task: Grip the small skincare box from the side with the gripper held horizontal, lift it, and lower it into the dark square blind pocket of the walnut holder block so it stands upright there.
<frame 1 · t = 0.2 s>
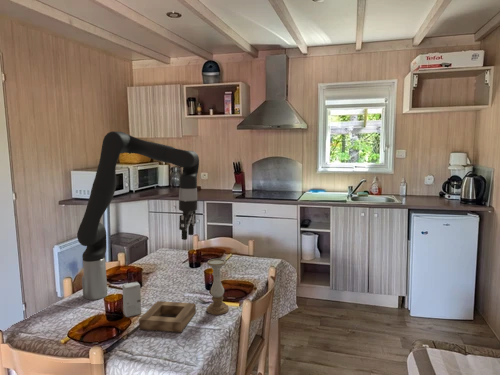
hand: (187, 237, 155), 28 cm above the table, tool pointing down, fingers open, 8 cm apart
walnut holder: (168, 321, 141), on the table
skincare box: (132, 314, 148), on the table
candle holder: (217, 310, 150), on the table
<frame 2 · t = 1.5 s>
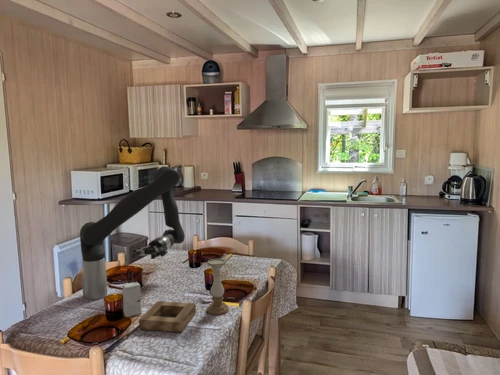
hand: (142, 256, 156), 20 cm above the table, tool horizontal, fingers open, 8 cm apart
nothing on the table moved.
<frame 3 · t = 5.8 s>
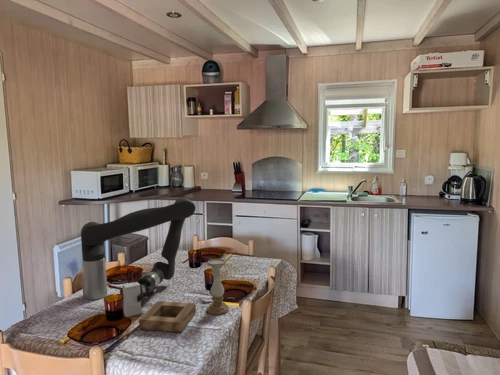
hand: (129, 298, 145), 7 cm above the table, tool horizontal, fingers closed on skincare box, 7 cm apart
skincare box: (132, 314, 148), on the table, touching gripper
everything else where it was.
when the fingers open (9 cm above the table, at t = 12.1 s): skincare box drops 1 cm, resting on walnut holder.
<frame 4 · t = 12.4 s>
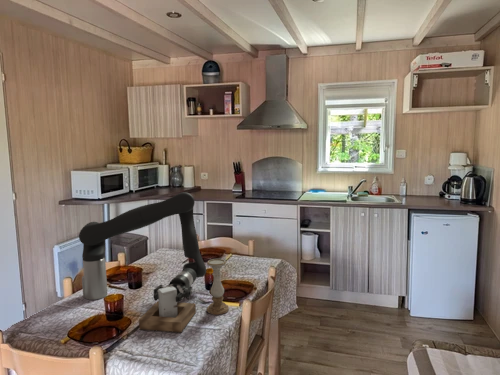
hand: (165, 299, 138), 10 cm above the table, tool horizontal, fingers open, 8 cm apart
skincare box: (168, 320, 141), resting on walnut holder
everything else where it was.
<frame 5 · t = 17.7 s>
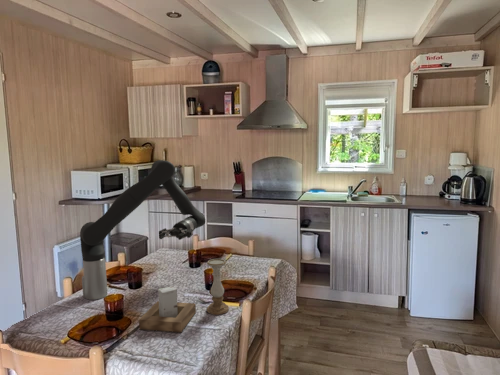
hand: (169, 237, 156), 28 cm above the table, tool horizontal, fingers open, 8 cm apart
nothing on the table moved.
at the end: skincare box 0.2 cm off-centre on the walnut holder, point 0.3 cm above the walnut holder's base; skincare box tilted 0°; the gripper is holding nothing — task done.
